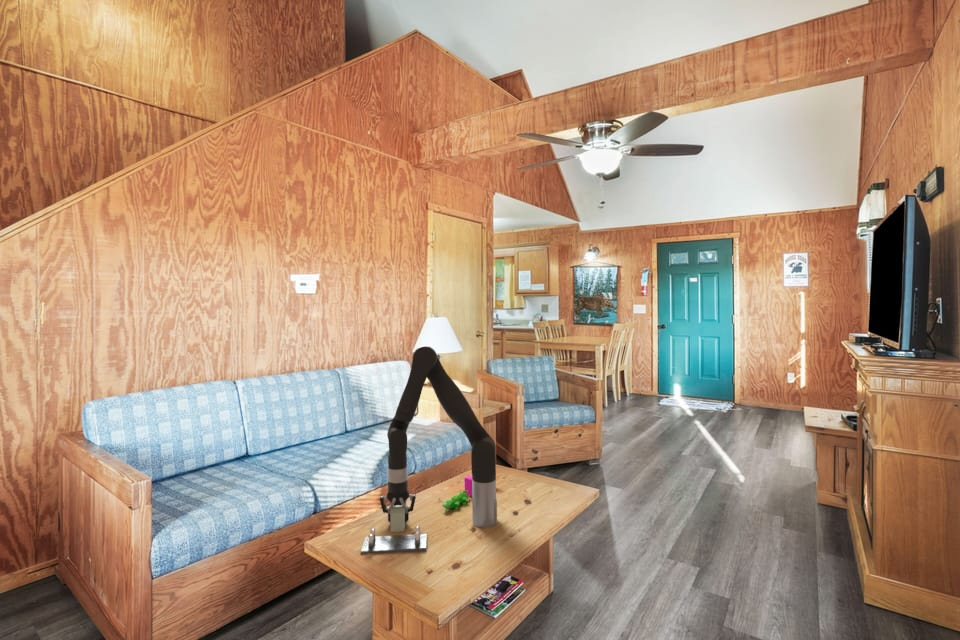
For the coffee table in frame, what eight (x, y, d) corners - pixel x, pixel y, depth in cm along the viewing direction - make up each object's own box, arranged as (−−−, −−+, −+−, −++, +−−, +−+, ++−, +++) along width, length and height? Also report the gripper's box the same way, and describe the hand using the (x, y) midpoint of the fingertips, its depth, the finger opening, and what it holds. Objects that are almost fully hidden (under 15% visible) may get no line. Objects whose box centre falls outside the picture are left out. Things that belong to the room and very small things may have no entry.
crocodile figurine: (437, 511, 196) (437, 501, 196) (462, 496, 211) (461, 486, 211) (450, 515, 192) (450, 504, 192) (474, 499, 208) (474, 489, 207)
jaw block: (405, 517, 190) (405, 499, 190) (404, 531, 178) (403, 513, 178) (393, 517, 190) (392, 500, 190) (390, 532, 178) (390, 513, 178)
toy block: (475, 498, 209) (474, 481, 209) (464, 494, 213) (464, 477, 213) (497, 487, 220) (497, 471, 220) (487, 484, 224) (486, 468, 224)
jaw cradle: (426, 537, 174) (426, 522, 174) (426, 551, 164) (425, 536, 164) (365, 540, 172) (364, 526, 172) (360, 554, 162) (360, 539, 162)
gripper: (417, 474, 188) (417, 516, 188) (379, 475, 187) (380, 518, 187) (416, 481, 180) (416, 525, 181) (377, 483, 179) (378, 527, 180)
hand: (398, 521), depth 184 cm, fingers closed on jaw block, 5 cm apart
